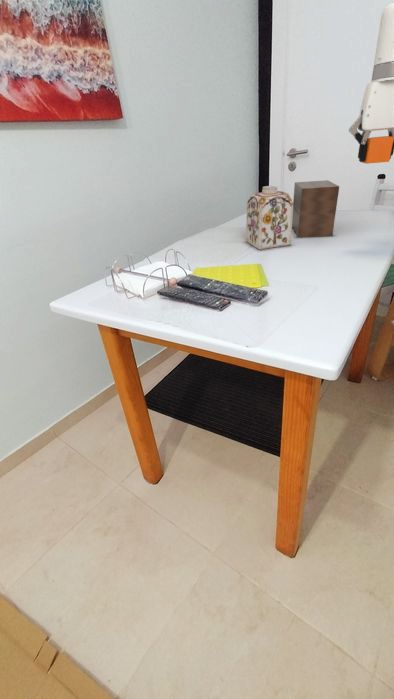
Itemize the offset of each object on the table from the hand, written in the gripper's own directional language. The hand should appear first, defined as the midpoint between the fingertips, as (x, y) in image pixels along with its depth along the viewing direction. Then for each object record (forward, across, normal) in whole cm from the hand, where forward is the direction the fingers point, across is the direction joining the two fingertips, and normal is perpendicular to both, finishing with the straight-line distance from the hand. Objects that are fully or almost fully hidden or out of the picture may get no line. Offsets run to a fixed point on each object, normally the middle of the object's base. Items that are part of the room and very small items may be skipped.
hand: (374, 159), depth 90 cm
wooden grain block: (+25, +9, -27) cm, 38 cm away
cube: (+1, 0, 0) cm, 1 cm away
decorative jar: (+25, +26, -12) cm, 38 cm away
